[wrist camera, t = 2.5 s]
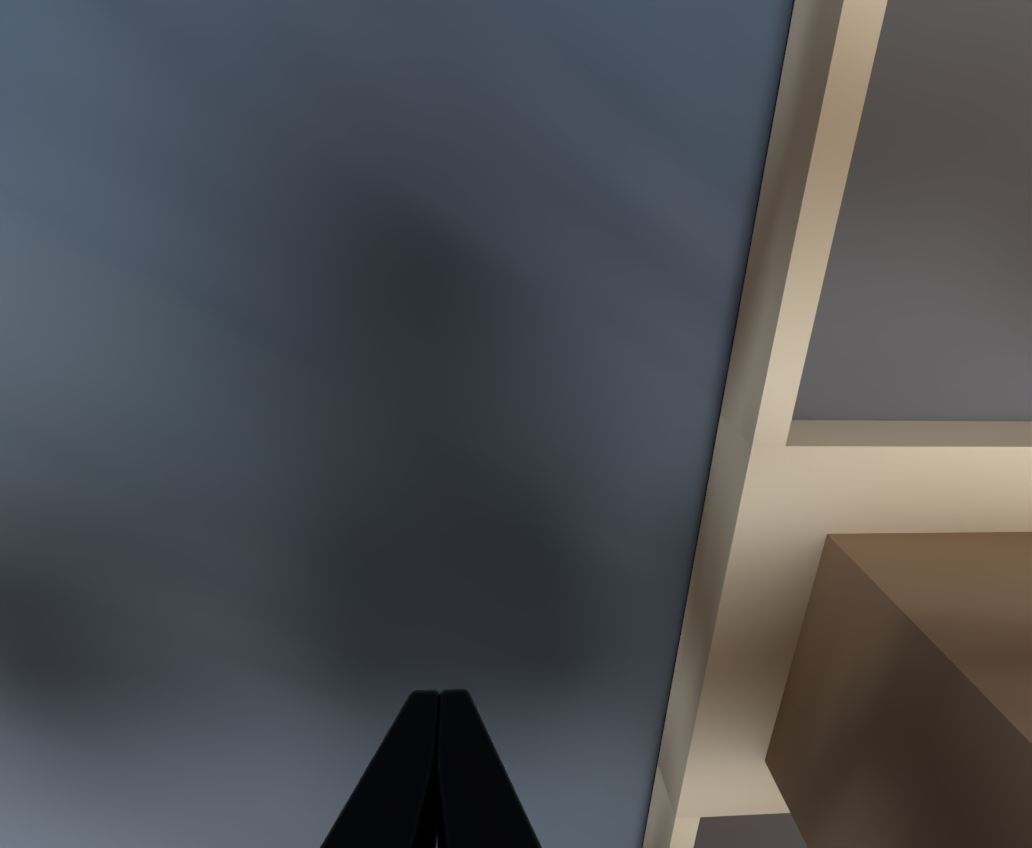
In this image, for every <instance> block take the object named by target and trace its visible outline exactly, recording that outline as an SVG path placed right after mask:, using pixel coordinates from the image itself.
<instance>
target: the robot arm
mask: <svg viewBox="0 0 1032 848" xmlns="http://www.w3.org/2000/svg"><path fill="white" fill-rule="evenodd" d="M320 848H542V847H541V845H540V843H539V841H538V838H537V836H536V834H535V832H534V830H533V828H532V826H531V824H530V821H529V819H528V817H527V815H526V813H525V811H524V809H523V806H522V804H521V802H520V800H519V798H518V796H517V794H516V792H515V789H514V787H513V785H512V783H511V781H510V779H509V777H508V774H507V772H506V770H505V768H504V766H503V764H502V762H501V760H500V757H499V755H498V753H497V751H496V749H495V747H494V745H493V742H492V740H491V738H490V736H489V734H488V732H487V730H486V728H485V725H484V723H483V721H482V719H481V717H480V715H479V713H478V710H477V708H476V706H475V704H474V702H473V700H472V698H471V696H470V694H469V692H468V691H467V690H466V689H445V690H443V691H441V693H440V694H439V692H438V691H437V690H416V691H413V692H412V693H411V694H410V695H409V697H408V698H407V700H406V702H405V704H404V705H403V707H402V709H401V710H400V712H399V714H398V715H397V717H396V719H395V721H394V722H393V724H392V726H391V727H390V729H389V731H388V733H387V734H386V736H385V738H384V739H383V741H382V743H381V744H380V746H379V748H378V750H377V751H376V753H375V755H374V756H373V758H372V760H371V762H370V763H369V765H368V767H367V768H366V770H365V772H364V773H363V775H362V777H361V779H360V780H359V782H358V784H357V785H356V787H355V789H354V791H353V792H352V794H351V796H350V797H349V799H348V801H347V802H346V804H345V806H344V808H343V809H342V811H341V813H340V814H339V816H338V818H337V820H336V821H335V823H334V825H333V826H332V828H331V830H330V831H329V833H328V835H327V837H326V838H325V840H324V842H323V843H322V845H321V847H320Z"/></svg>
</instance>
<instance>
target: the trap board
mask: <svg viewBox="0 0 1032 848" xmlns="http://www.w3.org/2000/svg"><path fill="white" fill-rule="evenodd" d="M959 532H1032V0H795V3H794V8H793V14H792V19H791V25H790V30H789V36H788V42H787V47H786V53H785V58H784V64H783V69H782V75H781V80H780V86H779V92H778V97H777V103H776V108H775V114H774V119H773V125H772V131H771V136H770V142H769V147H768V153H767V158H766V164H765V169H764V175H763V181H762V186H761V192H760V197H759V203H758V208H757V214H756V220H755V225H754V231H753V236H752V242H751V247H750V253H749V258H748V264H747V270H746V275H745V281H744V286H743V292H742V297H741V303H740V308H739V314H738V320H737V325H736V331H735V336H734V342H733V347H732V353H731V359H730V364H729V370H728V375H727V381H726V386H725V392H724V397H723V403H722V409H721V414H720V420H719V425H718V431H717V436H716V442H715V448H714V453H713V459H712V464H711V470H710V475H709V481H708V486H707V492H706V498H705V503H704V509H703V514H702V520H701V525H700V531H699V537H698V542H697V548H696V553H695V559H694V564H693V570H692V575H691V581H690V587H689V592H688V598H687V603H686V609H685V614H684V620H683V625H682V631H681V637H680V642H679V648H678V653H677V659H676V664H675V670H674V676H673V681H672V687H671V692H670V698H669V703H668V709H667V714H666V720H665V726H664V731H663V737H662V742H661V748H660V753H659V759H658V765H657V770H656V776H655V781H654V787H653V792H652V798H651V803H650V809H649V815H648V820H647V826H646V831H645V837H644V842H643V848H808V847H807V845H806V843H805V841H804V839H803V837H802V835H801V833H800V831H799V829H798V827H797V825H796V823H795V821H794V819H793V817H792V815H791V813H790V811H789V809H788V807H787V805H786V803H785V801H784V799H783V797H782V795H781V793H780V791H779V789H778V787H777V785H776V783H775V781H774V779H773V777H772V775H771V773H770V771H769V769H768V767H767V765H766V763H765V757H766V754H767V750H768V747H769V743H770V739H771V736H772V732H773V728H774V725H775V721H776V717H777V714H778V710H779V707H780V703H781V699H782V696H783V692H784V688H785V685H786V681H787V677H788V674H789V670H790V667H791V663H792V659H793V656H794V652H795V648H796V645H797V641H798V638H799V634H800V630H801V627H802V623H803V619H804V616H805V612H806V608H807V605H808V601H809V598H810V594H811V590H812V587H813V583H814V579H815V576H816V572H817V568H818V565H819V561H820V558H821V554H822V550H823V547H824V543H825V539H826V536H827V534H859V533H959Z"/></svg>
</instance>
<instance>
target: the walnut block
mask: <svg viewBox="0 0 1032 848" xmlns="http://www.w3.org/2000/svg"><path fill="white" fill-rule="evenodd" d="M765 763H766V765H767V767H768V769H769V771H770V773H771V775H772V777H773V779H774V781H775V783H776V785H777V787H778V789H779V791H780V793H781V795H782V797H783V799H784V801H785V803H786V805H787V807H788V809H789V811H790V813H791V815H792V817H793V819H794V821H795V823H796V825H797V827H798V829H799V831H800V833H801V835H802V837H803V839H804V841H805V843H806V845H807V847H808V848H1032V532H959V533H859V534H827V536H826V539H825V543H824V547H823V550H822V554H821V558H820V561H819V565H818V568H817V572H816V576H815V579H814V583H813V587H812V590H811V594H810V598H809V601H808V605H807V608H806V612H805V616H804V619H803V623H802V627H801V630H800V634H799V638H798V641H797V645H796V648H795V652H794V656H793V659H792V663H791V667H790V670H789V674H788V677H787V681H786V685H785V688H784V692H783V696H782V699H781V703H780V707H779V710H778V714H777V717H776V721H775V725H774V728H773V732H772V736H771V739H770V743H769V747H768V750H767V754H766V757H765Z"/></svg>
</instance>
